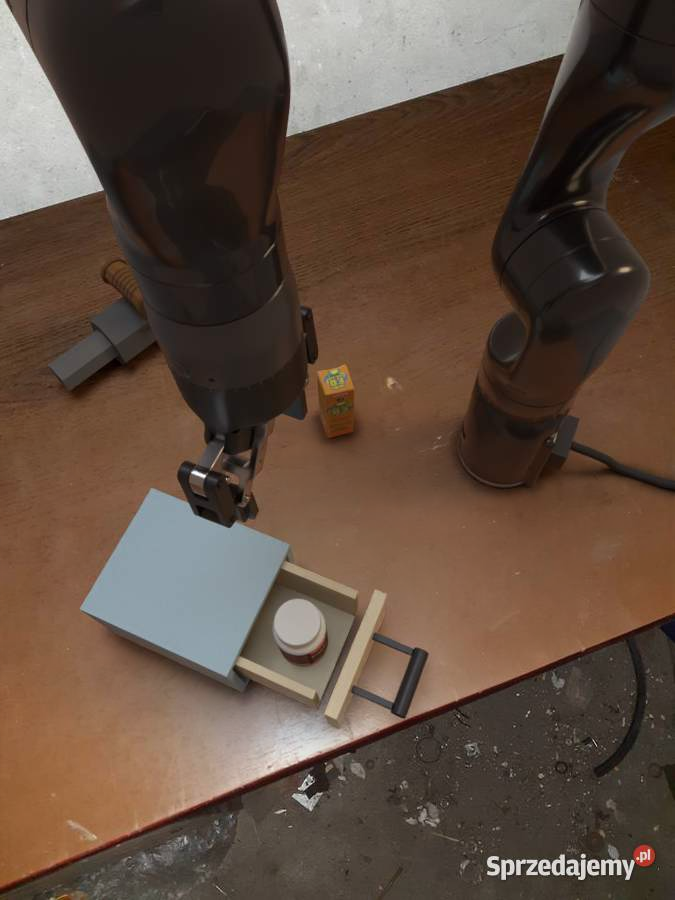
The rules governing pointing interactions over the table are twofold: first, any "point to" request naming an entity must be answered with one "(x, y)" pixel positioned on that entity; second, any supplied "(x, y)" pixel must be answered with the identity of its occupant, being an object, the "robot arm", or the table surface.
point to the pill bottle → (300, 632)
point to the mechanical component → (108, 330)
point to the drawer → (339, 612)
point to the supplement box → (336, 401)
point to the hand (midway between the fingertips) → (269, 460)
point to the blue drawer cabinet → (187, 586)
